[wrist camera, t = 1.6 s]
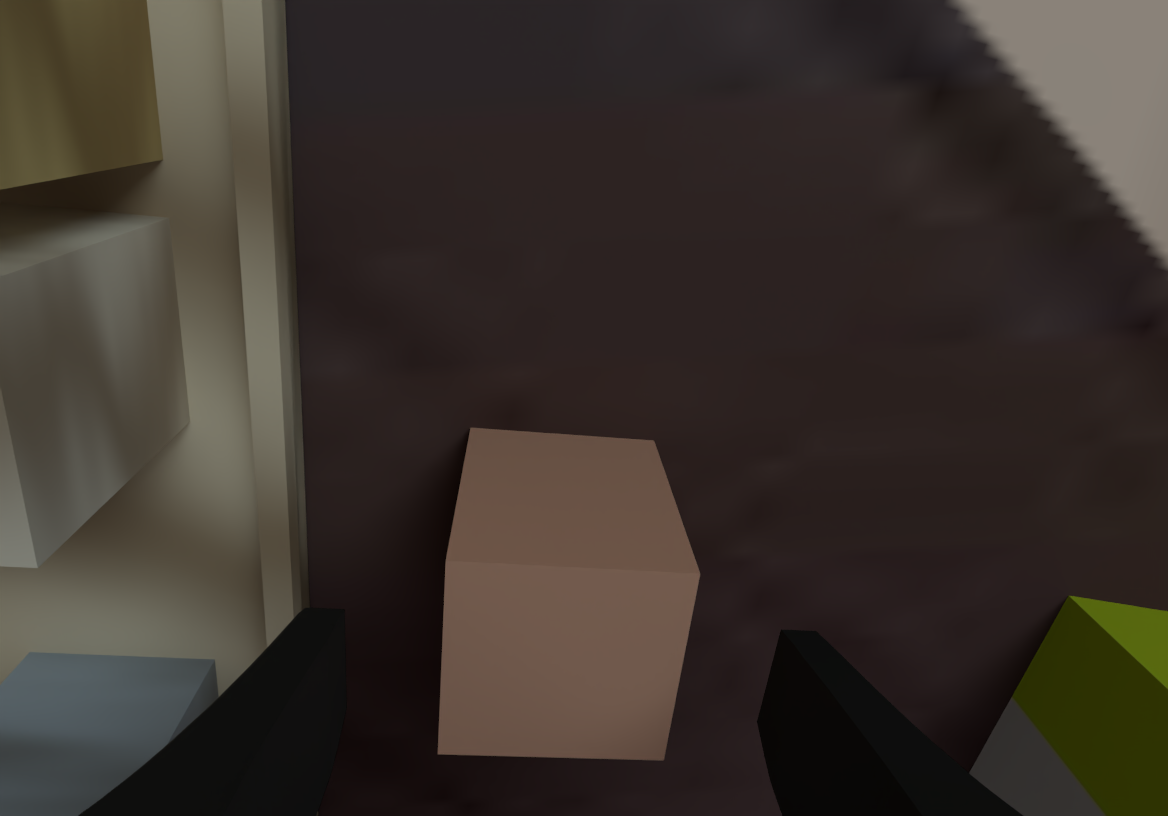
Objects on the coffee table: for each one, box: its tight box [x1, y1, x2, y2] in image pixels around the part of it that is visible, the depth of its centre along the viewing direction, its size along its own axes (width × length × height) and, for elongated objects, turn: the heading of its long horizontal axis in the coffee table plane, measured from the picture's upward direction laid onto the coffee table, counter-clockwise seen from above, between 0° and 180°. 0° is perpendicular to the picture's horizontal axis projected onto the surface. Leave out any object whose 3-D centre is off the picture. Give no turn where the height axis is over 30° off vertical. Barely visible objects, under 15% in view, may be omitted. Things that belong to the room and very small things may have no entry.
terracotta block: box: [438, 428, 700, 760], centre depth 15 cm, size 4×4×5 cm
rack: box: [0, 0, 318, 816], centre depth 14 cm, size 26×8×6 cm, turn 174°
